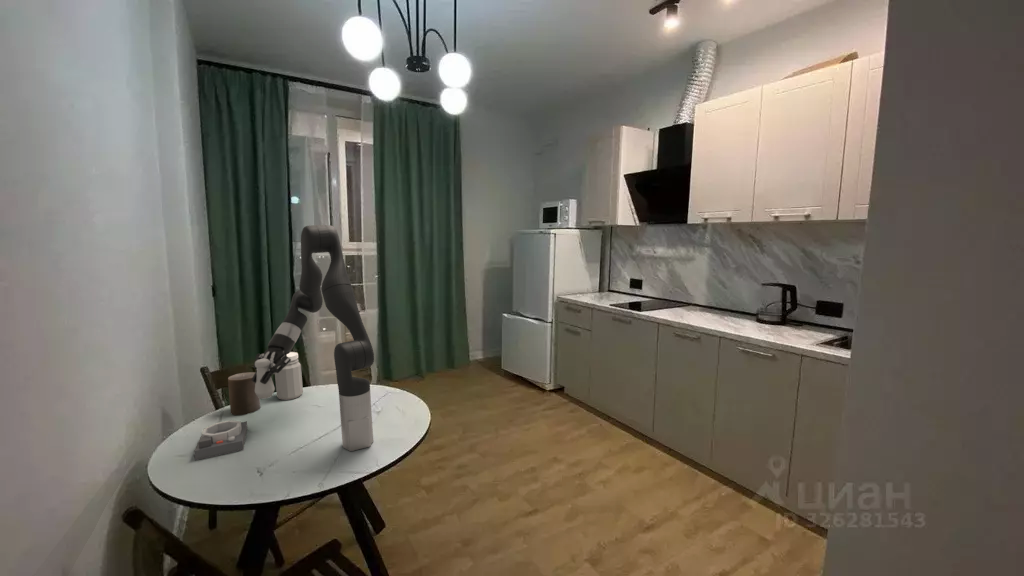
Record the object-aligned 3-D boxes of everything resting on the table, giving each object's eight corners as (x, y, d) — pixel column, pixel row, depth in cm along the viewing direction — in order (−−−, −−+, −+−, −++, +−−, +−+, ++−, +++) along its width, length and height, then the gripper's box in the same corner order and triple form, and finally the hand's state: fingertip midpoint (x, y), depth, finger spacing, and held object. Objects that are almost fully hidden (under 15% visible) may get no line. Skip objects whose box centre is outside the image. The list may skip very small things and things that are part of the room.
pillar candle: (240, 417, 151) (237, 378, 149) (225, 412, 155) (221, 374, 153) (266, 407, 159) (263, 370, 158) (250, 403, 164) (247, 367, 162)
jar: (297, 390, 177) (293, 350, 175) (307, 395, 171) (304, 353, 169) (272, 397, 170) (269, 355, 168) (282, 402, 164) (278, 359, 161)
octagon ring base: (243, 449, 127) (241, 433, 126) (195, 460, 121) (193, 442, 120) (247, 429, 141) (246, 414, 140) (205, 437, 135) (203, 422, 134)
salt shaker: (259, 401, 135) (255, 363, 133) (252, 397, 138) (248, 360, 136) (278, 395, 139) (274, 358, 138) (271, 392, 143) (267, 356, 141)
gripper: (262, 331, 145) (234, 375, 135) (294, 333, 141) (267, 379, 131) (276, 342, 151) (250, 385, 141) (307, 344, 147) (282, 389, 137)
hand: (258, 382), depth 136 cm, fingers closed on salt shaker, 3 cm apart
